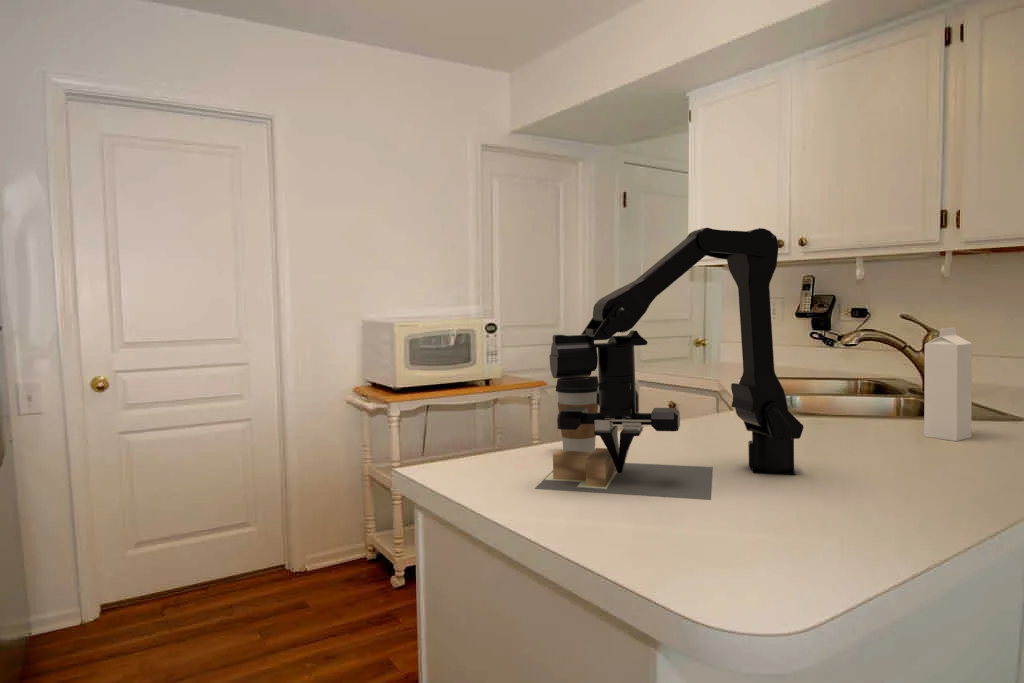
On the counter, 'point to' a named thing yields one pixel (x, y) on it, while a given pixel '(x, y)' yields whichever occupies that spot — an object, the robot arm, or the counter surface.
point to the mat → (646, 482)
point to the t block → (584, 466)
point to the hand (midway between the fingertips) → (620, 472)
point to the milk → (948, 387)
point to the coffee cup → (578, 395)
